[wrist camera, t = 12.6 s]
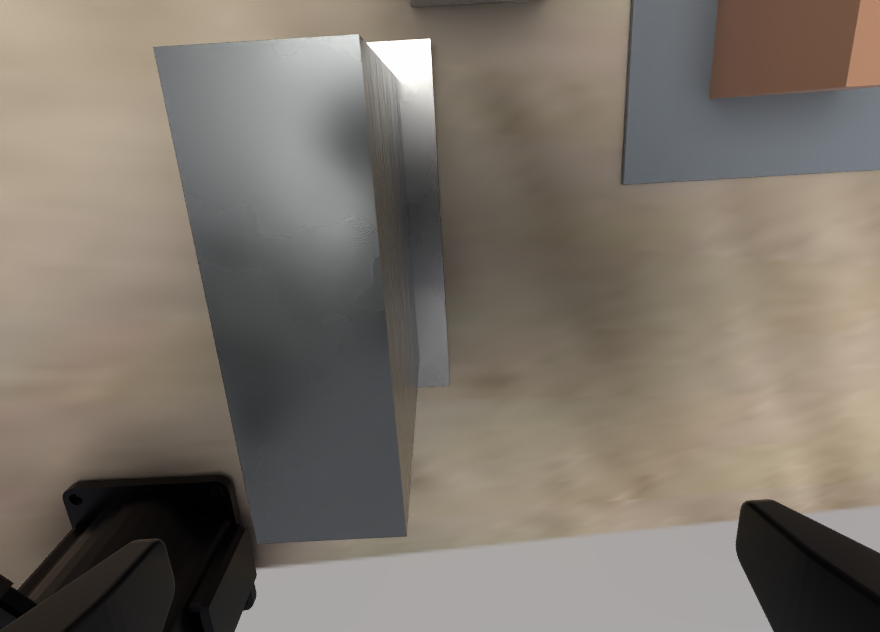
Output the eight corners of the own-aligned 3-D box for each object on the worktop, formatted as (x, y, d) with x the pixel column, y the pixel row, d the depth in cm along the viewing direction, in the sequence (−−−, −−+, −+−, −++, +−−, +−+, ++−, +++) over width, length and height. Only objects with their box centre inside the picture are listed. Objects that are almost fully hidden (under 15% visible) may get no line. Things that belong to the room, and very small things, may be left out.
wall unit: (314, 380, 20) (216, 585, 11) (266, 53, 17) (65, -28, 8) (449, 373, 20) (458, 573, 11) (430, 43, 17) (423, -52, 8)
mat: (621, 183, 18) (624, 184, 18) (639, -153, 15) (641, -156, 15) (899, 167, 18) (904, 168, 18) (973, -176, 15) (980, -179, 15)
